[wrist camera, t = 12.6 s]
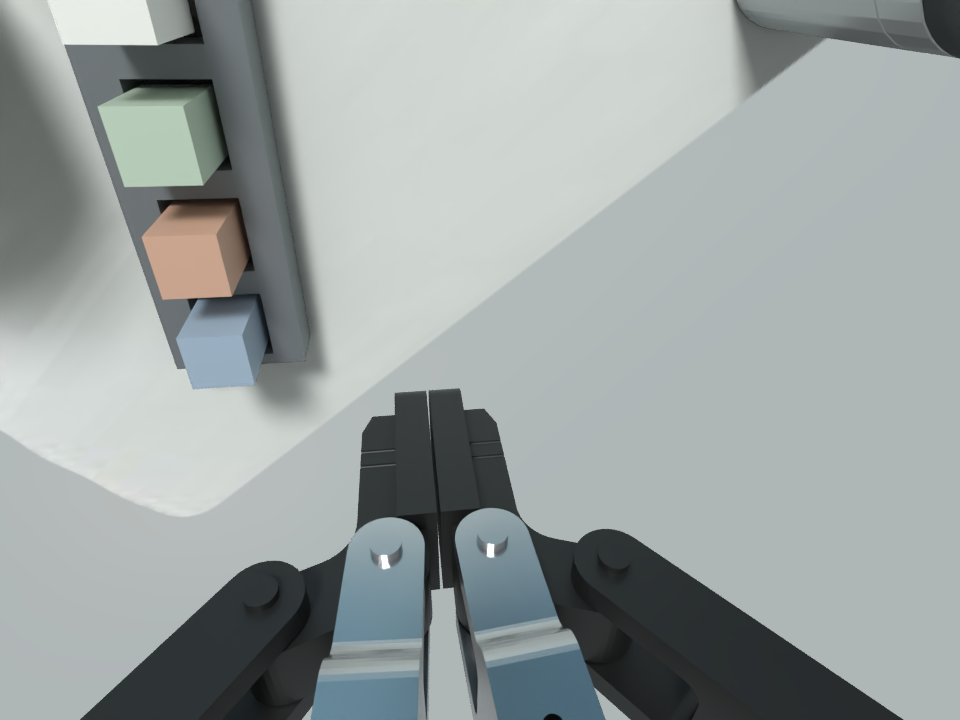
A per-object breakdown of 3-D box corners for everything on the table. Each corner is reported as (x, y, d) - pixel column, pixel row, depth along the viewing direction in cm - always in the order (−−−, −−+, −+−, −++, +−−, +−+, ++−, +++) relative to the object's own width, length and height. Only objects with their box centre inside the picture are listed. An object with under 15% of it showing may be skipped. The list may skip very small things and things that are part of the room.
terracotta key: (238, 197, 41) (216, 234, 36) (251, 253, 44) (232, 296, 38) (175, 199, 41) (141, 236, 35) (191, 255, 43) (162, 299, 37)
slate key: (259, 289, 46) (242, 335, 40) (269, 335, 48) (254, 385, 42) (201, 291, 45) (175, 338, 39) (215, 338, 47) (192, 389, 42)
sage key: (213, 84, 37) (183, 106, 31) (229, 153, 39) (203, 185, 34) (141, 84, 36) (97, 106, 31) (162, 154, 39) (124, 187, 33)
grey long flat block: (235, -88, 34) (219, -93, 31) (310, 335, 51) (305, 361, 48) (50, -95, 33) (13, -101, 29) (190, 342, 50) (177, 369, 46)
